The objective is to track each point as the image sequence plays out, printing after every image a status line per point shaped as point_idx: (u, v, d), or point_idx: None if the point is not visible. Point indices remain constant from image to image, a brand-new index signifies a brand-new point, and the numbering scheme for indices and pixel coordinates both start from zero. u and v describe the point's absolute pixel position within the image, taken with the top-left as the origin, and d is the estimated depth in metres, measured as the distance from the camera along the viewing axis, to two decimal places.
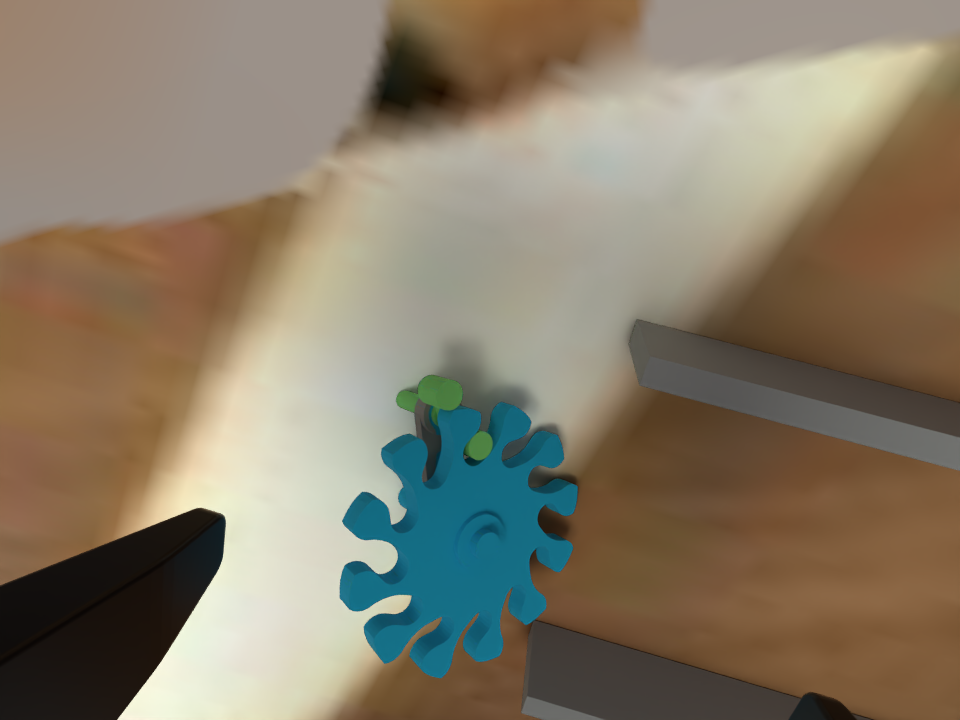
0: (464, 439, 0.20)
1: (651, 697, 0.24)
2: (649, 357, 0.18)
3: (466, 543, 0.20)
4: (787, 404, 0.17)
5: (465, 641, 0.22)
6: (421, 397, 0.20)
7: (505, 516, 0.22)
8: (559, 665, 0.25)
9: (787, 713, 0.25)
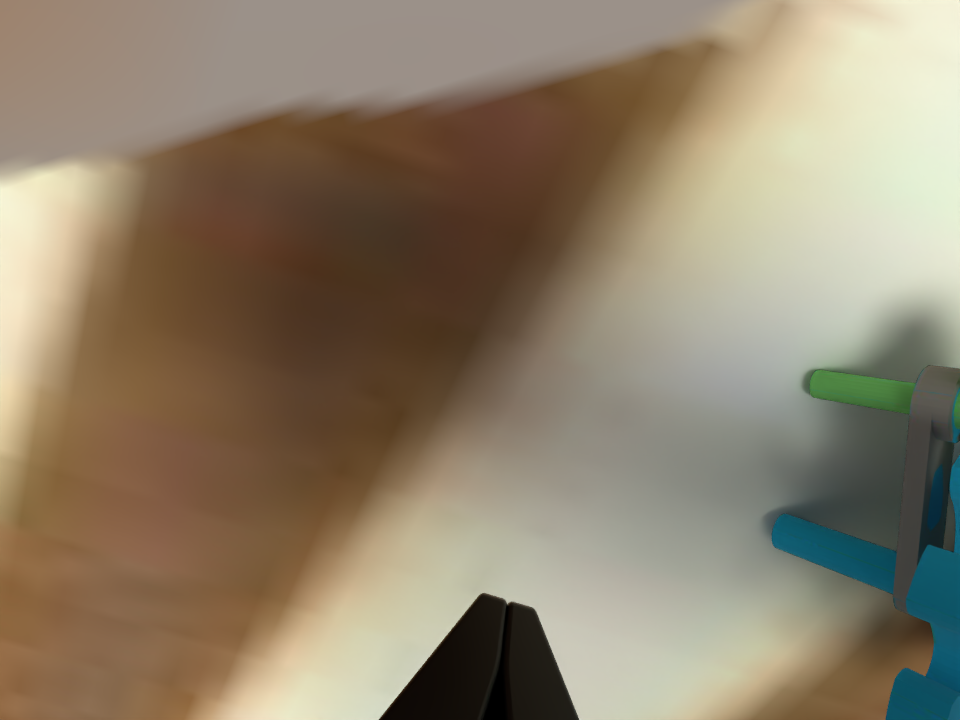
0: None
1: None
2: None
3: None
4: None
5: None
6: None
7: None
8: None
9: None
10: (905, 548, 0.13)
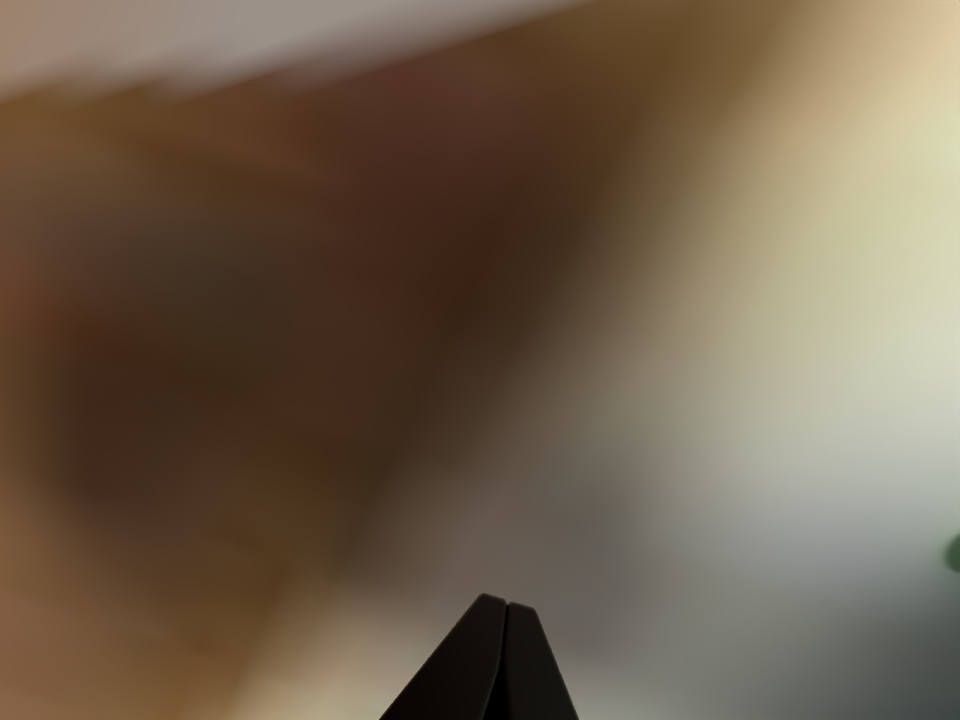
0: None
1: None
2: None
3: None
4: None
5: None
6: None
7: None
8: None
9: None
10: None
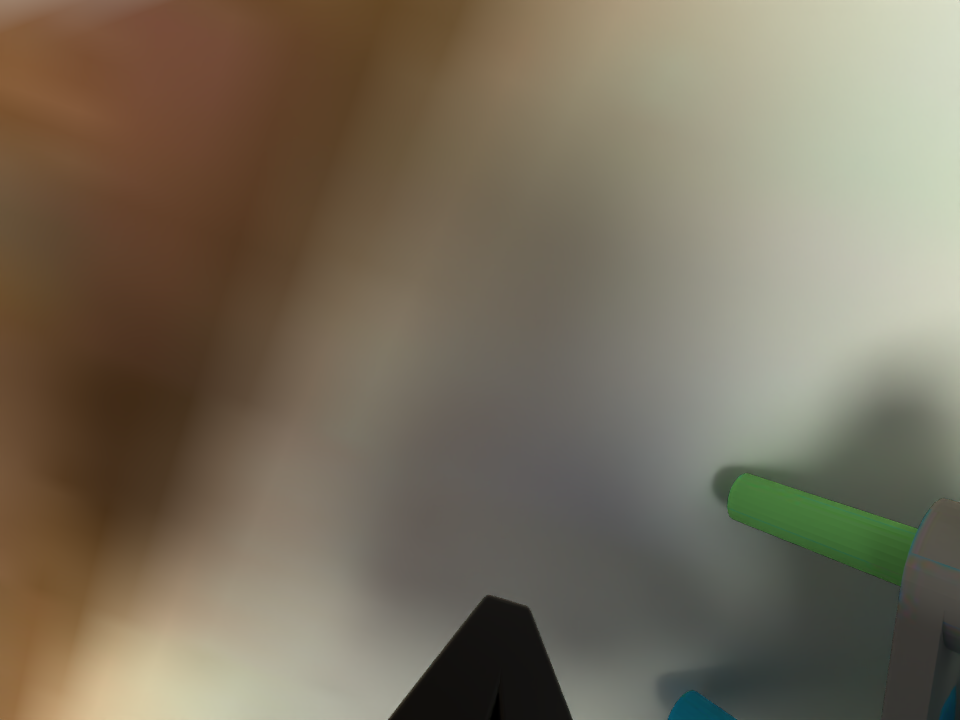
0: None
1: None
2: None
3: None
4: None
5: None
6: None
7: None
8: None
9: None
10: None
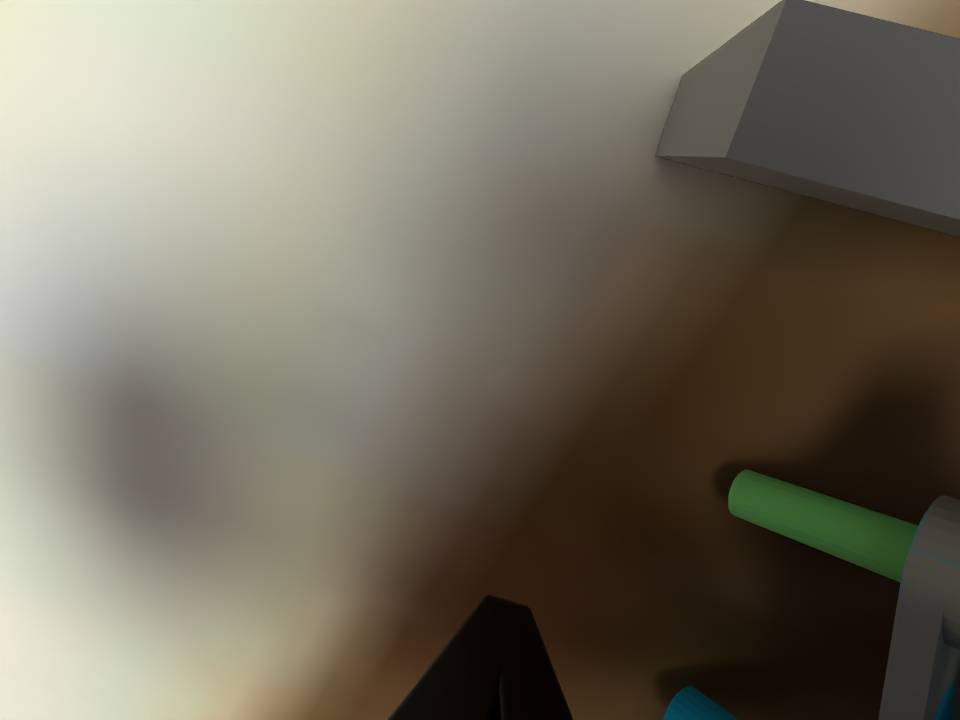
0: None
1: None
2: (781, 9, 0.04)
3: None
4: None
5: None
6: None
7: None
8: None
9: None
10: None
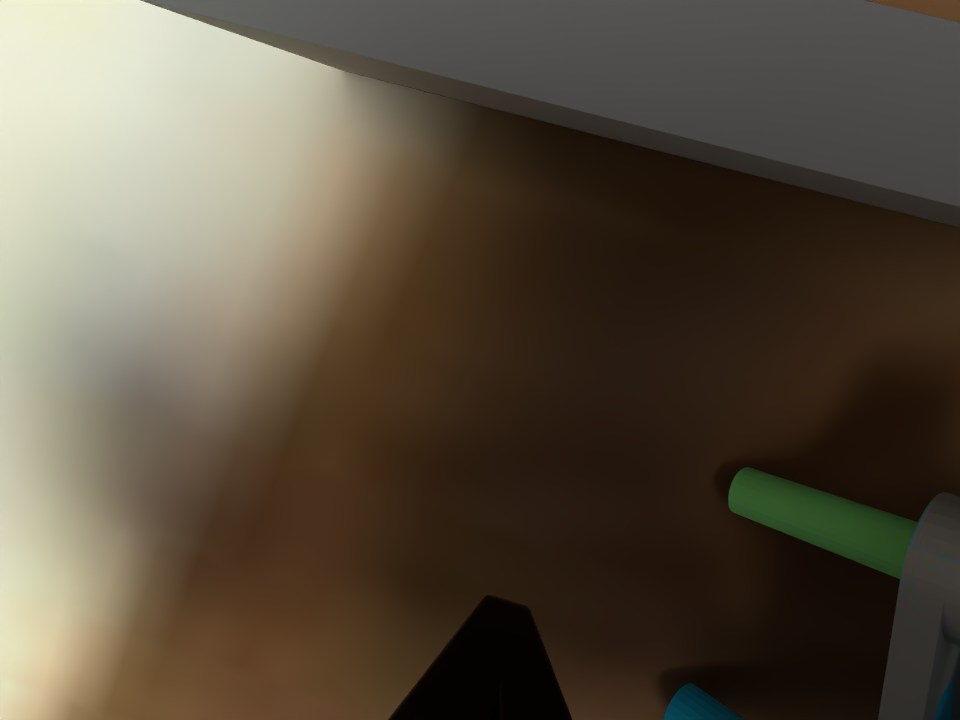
0: None
1: None
2: None
3: None
4: (748, 46, 0.04)
5: None
6: None
7: None
8: None
9: None
10: None
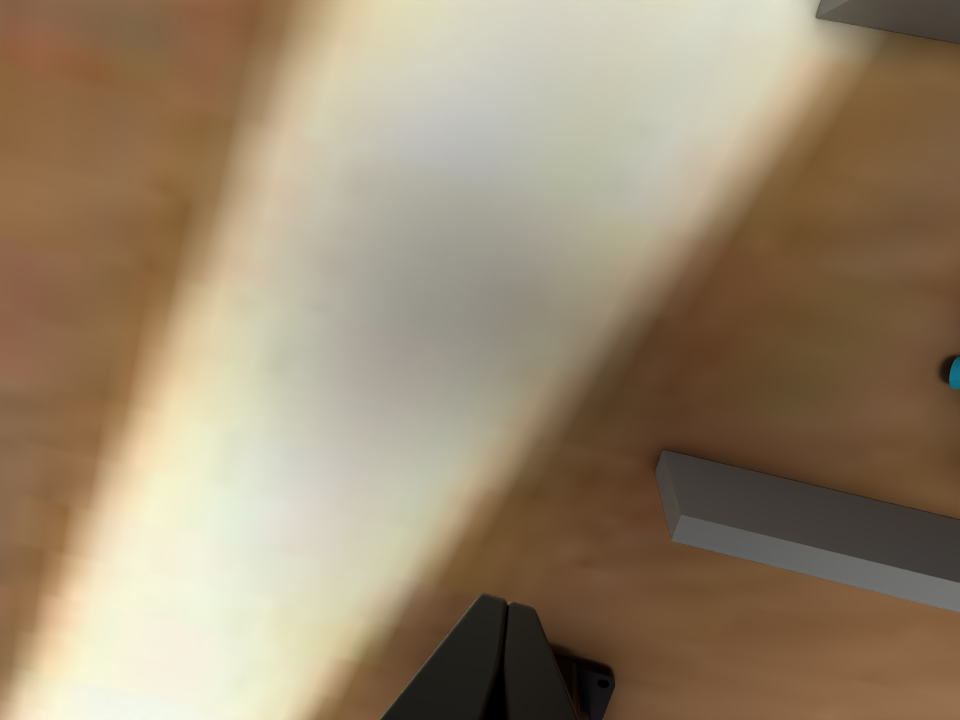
0: None
1: (834, 523, 0.19)
2: None
3: None
4: None
5: None
6: None
7: None
8: (710, 489, 0.19)
9: None
10: None
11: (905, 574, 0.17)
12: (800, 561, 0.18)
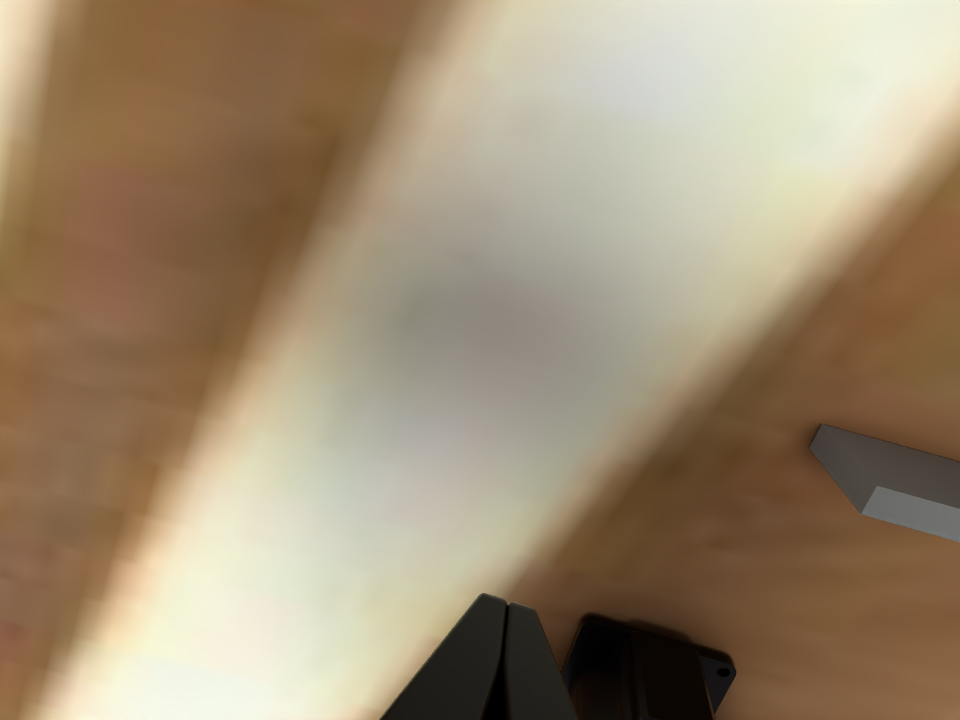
0: None
1: None
2: None
3: None
4: None
5: None
6: None
7: None
8: (888, 464, 0.18)
9: None
10: None
11: None
12: None
